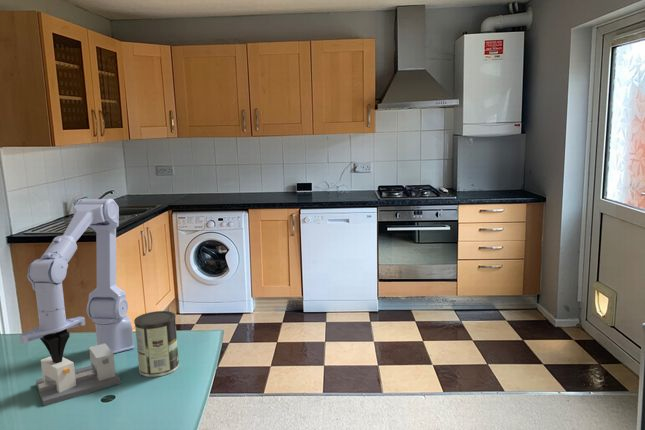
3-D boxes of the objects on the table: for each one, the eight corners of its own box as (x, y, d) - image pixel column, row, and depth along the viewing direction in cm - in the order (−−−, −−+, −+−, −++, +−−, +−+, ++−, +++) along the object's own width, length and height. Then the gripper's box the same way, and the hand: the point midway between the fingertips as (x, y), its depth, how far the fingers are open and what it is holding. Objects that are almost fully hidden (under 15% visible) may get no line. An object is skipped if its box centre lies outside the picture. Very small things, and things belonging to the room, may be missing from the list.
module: (59, 376, 130) (57, 354, 129) (77, 386, 124) (74, 363, 123) (43, 382, 126) (40, 359, 126) (60, 393, 121) (58, 369, 120)
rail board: (107, 365, 138) (105, 340, 137) (120, 383, 127) (117, 356, 126) (36, 384, 128) (33, 357, 127) (43, 405, 118) (40, 376, 117)
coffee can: (166, 356, 143) (162, 307, 140) (186, 367, 136) (183, 316, 133) (131, 369, 135) (126, 318, 133) (151, 381, 128) (146, 327, 126)
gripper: (73, 297, 130) (78, 347, 132) (11, 313, 119) (18, 368, 121) (87, 302, 126) (92, 354, 128) (24, 319, 115) (31, 376, 117)
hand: (57, 361), depth 124 cm, fingers closed, pressing on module
